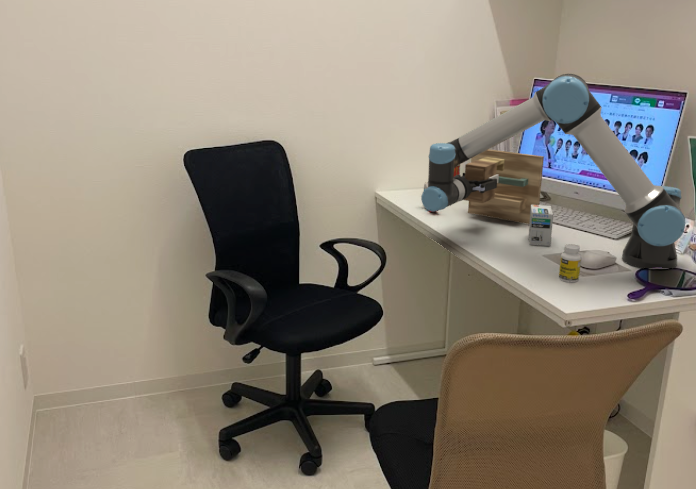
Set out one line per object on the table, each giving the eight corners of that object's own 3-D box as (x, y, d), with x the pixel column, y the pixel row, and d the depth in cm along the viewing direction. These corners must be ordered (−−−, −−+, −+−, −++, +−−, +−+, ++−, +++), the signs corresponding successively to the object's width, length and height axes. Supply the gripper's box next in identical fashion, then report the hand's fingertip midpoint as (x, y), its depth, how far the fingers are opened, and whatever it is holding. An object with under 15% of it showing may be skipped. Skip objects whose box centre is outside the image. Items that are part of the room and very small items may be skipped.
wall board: (528, 229, 239) (534, 160, 232) (460, 216, 254) (463, 151, 246) (540, 221, 248) (547, 154, 240) (474, 209, 263) (478, 146, 255)
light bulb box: (550, 246, 222) (554, 214, 219) (528, 245, 224) (531, 212, 220) (548, 236, 232) (551, 205, 229) (527, 235, 234) (530, 204, 230)
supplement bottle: (555, 280, 194) (559, 246, 191) (561, 274, 199) (565, 241, 196) (575, 284, 192) (579, 250, 188) (581, 278, 196) (585, 245, 193)
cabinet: (482, 203, 228) (484, 167, 224) (463, 200, 232) (465, 164, 228) (502, 193, 240) (505, 159, 237) (483, 190, 244) (486, 156, 241)
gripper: (426, 197, 225) (459, 183, 242) (483, 206, 214) (513, 192, 231) (427, 174, 222) (460, 162, 240) (485, 182, 211) (515, 169, 229)
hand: (486, 176), depth 236 cm, fingers closed on cabinet, 7 cm apart
